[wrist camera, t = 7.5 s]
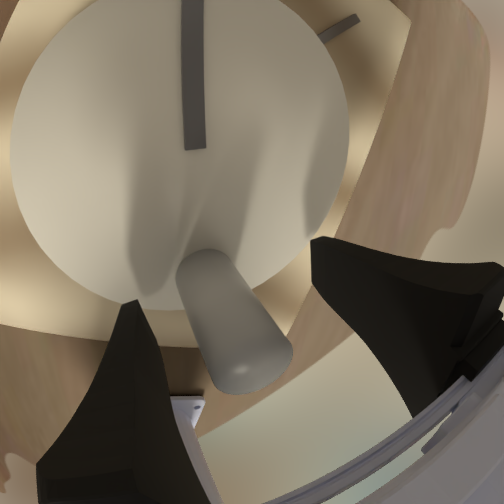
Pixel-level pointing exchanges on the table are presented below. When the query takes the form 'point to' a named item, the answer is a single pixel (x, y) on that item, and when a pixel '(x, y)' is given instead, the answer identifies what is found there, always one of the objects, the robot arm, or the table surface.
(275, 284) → the dial board
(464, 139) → the table surface
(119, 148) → the tuning knob
